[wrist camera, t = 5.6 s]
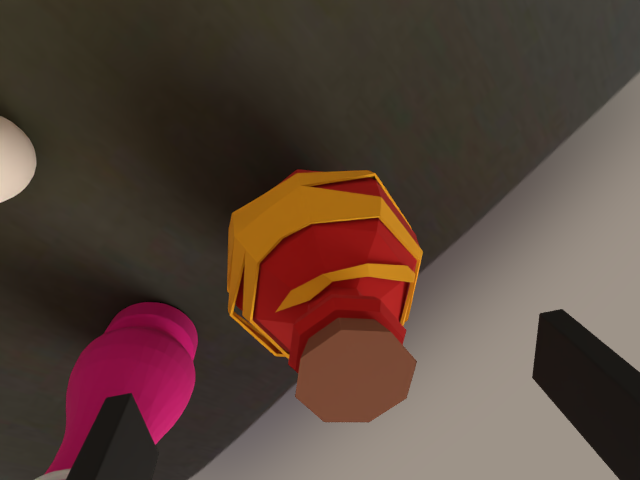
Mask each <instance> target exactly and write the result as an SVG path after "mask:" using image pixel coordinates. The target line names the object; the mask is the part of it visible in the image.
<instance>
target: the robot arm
mask: <svg viewBox="0 0 640 480" xmlns="http://www.w3.org/2000/svg"><path fill="white" fill-rule="evenodd" d="M532 378H533V379H534V380H535V381H536V383H537V384H538V385H539V386H540V387H541V388H542V390H543V391H544V392H545V393H546V394H547V395H548V397H549V398H550V399H551V400H552V401H553V402H554V404H555V405H556V406H557V407H558V408H559V409H560V411H561V412H562V413H563V414H564V415H565V416H566V418H567V419H568V420H569V421H570V422H571V423H572V425H573V426H574V427H575V428H576V429H577V430H578V432H579V433H580V434H581V435H582V436H583V437H584V439H585V440H586V441H587V442H588V443H589V444H590V446H591V447H593V449H594V450H595V451H596V453H597V454H598V455H599V456H600V457H601V458H602V460H603V461H604V462H605V463H606V464H607V465H608V467H609V468H610V469H611V470H612V471H613V472H614V474H615V475H616V476H617V477H618V478H619V479H620V480H640V372H639V371H637V370H636V369H635V368H634V367H632V366H631V365H630V364H629V363H627V362H626V361H625V360H624V359H623V358H621V357H620V356H619V355H618V354H617V353H615V352H614V351H613V350H612V349H610V348H609V347H608V346H607V345H605V344H604V343H603V342H601V340H599V339H598V338H597V337H595V336H594V335H593V334H592V333H591V332H590V331H588V330H587V329H586V328H585V327H583V326H582V325H581V324H580V323H579V322H577V321H576V320H575V319H574V318H572V317H571V316H570V315H569V314H567V313H566V312H565V311H564V310H562V309H560V310H555V311H550V312H545V313H540V315H539V325H538V333H537V341H536V351H535V359H534V368H533V376H532ZM158 456H159V452H158V450H157V448H156V446H155V443H154V441H153V439H152V437H151V435H150V432H149V430H148V428H147V426H146V424H145V421H144V419H143V417H142V415H141V413H140V410H139V408H138V406H137V404H136V402H135V399H134V397H133V395H132V393H127V394H122V395H117V396H112V397H107V398H106V399H105V401H104V403H103V405H102V407H101V409H100V411H99V413H98V415H97V417H96V419H95V421H94V423H93V425H92V427H91V429H90V431H89V433H88V435H87V437H86V439H85V441H84V443H83V445H82V447H81V450H80V452H79V454H78V456H77V458H76V460H75V462H74V464H73V466H72V468H71V470H70V472H69V474H68V476H67V478H66V480H152V477H153V473H154V470H155V466H156V463H157V459H158Z"/></svg>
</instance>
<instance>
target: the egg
mask: <svg viewBox="0 0 640 480" xmlns="http://www.w3.org/2000/svg"><path fill="white" fill-rule="evenodd" d="M35 168H36V154H35V150H34V147H33V145H32V143H31V141H30V139H29V138H28V137H27V135H26V134H25V133H24V132H23V131H22V130H21V129H20V128H19V127H17V126H16V125H15V124H14V123H13V122H11V121H10V120H8V119H6V118H4V117H2V116H0V203H1V202H3V201H6V200H8V199H10V198H12V197H14V196H16V195H17V194H19V193H20V192H21V191H22V190H23V189H25V188H26V186H27V185H28V184H29V182H30V181H31V179H32V177H33V176H34V173H35Z"/></svg>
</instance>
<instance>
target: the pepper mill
mask: <svg viewBox="0 0 640 480" xmlns="http://www.w3.org/2000/svg"><path fill="white" fill-rule="evenodd" d="M197 344H198V336H197V331H196V328H195V326H194V324H193V323H192V321H191V320H190V319H189V318H188V316H186V315H185V314H184V313H183V312H181V311H180V310H179V309H176V308H174V307H172V306H169V305H167V304H163V303H157V302H143V303H137V304H134V305H131V306H128V307H127V308H125V309H123V310H121V311H120V312H119V313H118V314H117V315H116V316H115V317H114V318H113V320H112V321H111V323H110V324H109V326H108V327H107V329H106V331H105V332H104V334H103V335H101V336H99V337H98V338H96V339H95V340H93V341H92V342H91V343H90V344H89V345H88V346H87V347H86V348H85V349H84V350H83V351H82V353H81V354H80V356H79V358H78V360H77V362H76V364H75V366H74V368H73V370H72V372H71V375H70V378H69V383H68V388H67V394H66V431H65V435H64V439H63V442H62V444H61V447H60V449H59V451H58V453H57V455H56V457H55V459H54V461H53V463H52V464H51V466H50V467H49V468H48V470H47V471H46V473H45V474H44V475H42V476H40V477H38V478H36V479H35V480H66V478H67V476H68V474H69V472H70V470H71V468H72V466H73V464H74V462H75V460H76V458H77V456H78V454H79V452H80V450H81V447H82V445H83V443H84V441H85V439H86V437H87V435H88V433H89V431H90V429H91V427H92V425H93V423H94V421H95V419H96V417H97V415H98V413H99V411H100V409H101V407H102V405H103V403H104V401H105V399H106V398H107V397H112V396H117V395H122V394H127V393H132V395H133V397H134V399H135V402H136V404H137V406H138V408H139V410H140V413H141V415H142V417H143V419H144V421H145V424H146V426H147V428H148V430H149V432H150V435H151V437H152V439H153V441H154V443H155V445H156V444H157V442H158V441H159V440H160V439H161V438H162V437H163V436H164V435H165V434H166V433H167V432H168V431H169V430H170V428H171V427H172V426H173V425H174V424H175V423H176V421H177V420H178V419H179V417H180V416H181V414H182V413H183V411H184V409H185V408H186V406H187V404H188V402H189V399H190V397H191V394H192V391H193V389H194V384H195V368H194V364H193V359H194V356H195V352H196V348H197Z"/></svg>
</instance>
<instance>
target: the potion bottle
mask: <svg viewBox="0 0 640 480" xmlns="http://www.w3.org/2000/svg"><path fill="white" fill-rule="evenodd" d="M422 254H423V251H422V250H421V248H420V247H419V244H418V241H417V238H416V235H415V233H414V232H413V230H412V228H411V226H410V225H409V223H408V222H407V220H406V219H405V217H404V216H403V214H402V213H401V211H400V210H399V208H398V207H397V205H396V204H395V202H394V201H393V199H392V198H391V196H390V195H389V193H388V191H387V190H386V188H385V187H384V185H383V184H382V182H381V181H380V179H379V178H378V176H377V175H376V173H373V172H371V171H368V170H361V171H336V172H320V171H310V170H301V169H297V170H295V171H294V172H293V173H292V174H290V175H289V176H288V177H287V178H285V179H284V180H283V181H282V182H280V183H279V184H278V185H277V186H275V187H274V188H273V189H271V190H270V191H268V192H266V193H265V194H263V195H262V196H260V197H258V198H257V199H255V200H253V201H252V202H250V203H248V204H246V205H245V206H243V207H241V208H240V209H238V210H236V211H235V212H233V213H232V216H231V221H230V225H229V234H228V272H227V292H229V304H228V312H229V315H230V316H231V317H232V318H233V319H234V320H235V321H236V322H238V323H239V324H240V325H241V326H242V327H243V328H244V329H245V330H247V331H248V332H249V333H250V334H251V335H252V336H253V337H254V338H256V339H257V340H258V341H259V342H260V343H261V344H262V345H263V346H264V347H266V348H267V349H268V350H269V351H270V352H271V353H272V354H273V355H275V356H281V357H287V358H288V359H289V364H288V365H290V366H291V367H292V368H293V369H294V370H295V371H296V372H297V373H298V380H297V387H296V394H295V397H296V398H297V399H298V400H299V401H301V402H302V403H303V404H304V405H305V406H306V407H307V408H309V409H310V410H311V411H312V412H313V413H314V414H315V415H317V416H318V417H319V418H320V419H321V420H322V421H324V422H370V421H372V420H373V419H375V418H376V417H378V416H379V415H381V414H382V413H384V412H386V411H387V410H389V409H390V408H392V407H394V406H395V405H397V404H398V403H400V402H401V401H403V400H404V399H406V398H407V394H408V391H409V388H410V384H411V381H412V377H413V374H414V370H415V366H416V363H417V361H416V360H415V359H414V358H413V356H411V354H410V353H409V352H408V351H407V350H406V349H405V347H404V346H403V341H404V337H405V334H406V329H405V328H404V327H403V326H404V323H405V322H406V321H407V320H408V317H409V313H410V308H411V304H412V299H413V294H414V290H415V286H416V281H417V277H418V272H419V268H420V263H421V258H422ZM235 302H236V306H237V307H238V308H239V309H240V310H242V311H243V313H242V315H243V316H244V317H245V318H246V319H247V320H248V321H249V322H250V323H251V324H252V325H253V326H252V325H251V324H250V323H248V322H247V321H246V320H244V319H243V318H242V317H240V316H239V315H238V314H236V313H235V312H234V307H235ZM268 335H269V336H270V337H271V338H272V339H271V338H270V337H269V336H268Z"/></svg>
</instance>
